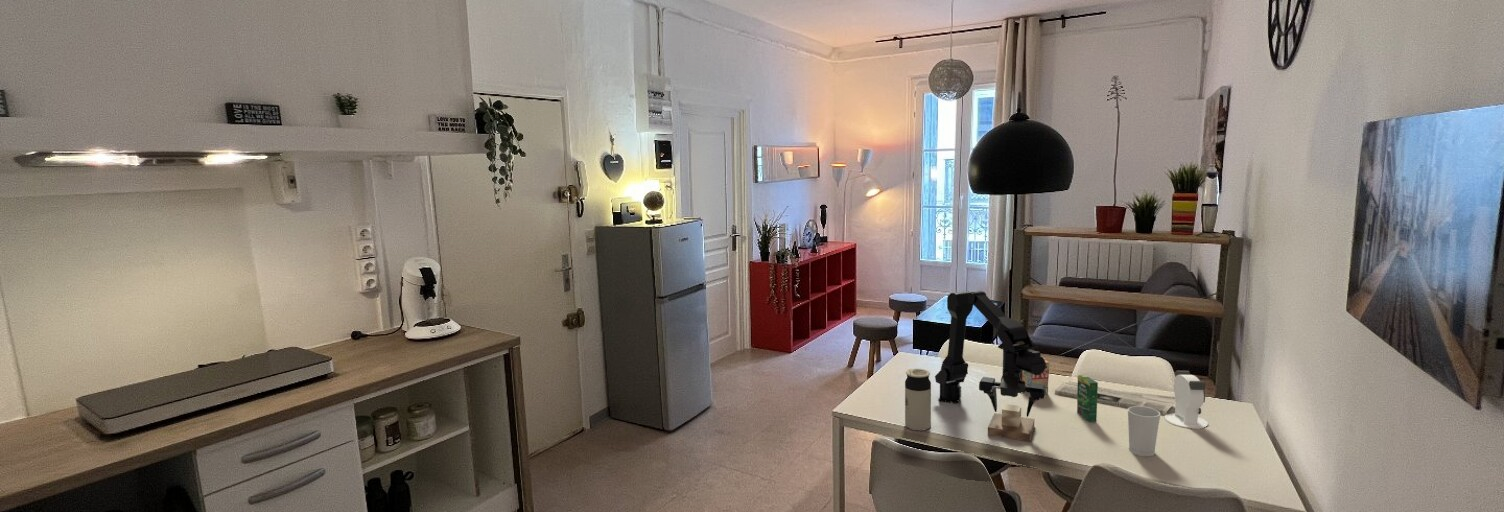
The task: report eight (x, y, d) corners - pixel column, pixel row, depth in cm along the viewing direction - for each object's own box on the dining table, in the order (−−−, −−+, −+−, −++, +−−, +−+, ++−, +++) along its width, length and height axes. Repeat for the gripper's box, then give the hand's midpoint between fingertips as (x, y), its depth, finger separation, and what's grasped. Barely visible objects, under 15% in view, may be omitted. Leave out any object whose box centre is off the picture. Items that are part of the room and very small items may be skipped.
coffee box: (1075, 412, 217) (1077, 374, 215) (1084, 412, 217) (1086, 374, 215) (1087, 422, 209) (1089, 383, 207) (1096, 422, 209) (1098, 382, 207)
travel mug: (931, 422, 214) (931, 369, 211) (929, 432, 206) (930, 377, 204) (906, 420, 216) (906, 367, 214) (903, 429, 209) (903, 375, 206)
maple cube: (1001, 424, 204) (1001, 409, 203) (1004, 418, 208) (1004, 403, 207) (1018, 427, 201) (1019, 411, 201) (1021, 421, 206) (1021, 406, 205)
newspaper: (1054, 395, 233) (1054, 386, 233) (1064, 385, 243) (1064, 376, 242) (1171, 418, 211) (1172, 407, 210) (1177, 405, 220) (1178, 395, 220)
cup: (1119, 446, 192) (1121, 407, 190) (1145, 444, 192) (1147, 405, 191) (1137, 458, 184) (1139, 417, 182) (1164, 456, 185) (1167, 415, 183)
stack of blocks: (1006, 375, 254) (1007, 344, 252) (1023, 375, 254) (1023, 344, 252) (1030, 395, 233) (1031, 362, 231) (1048, 395, 233) (1049, 361, 231)
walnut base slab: (987, 434, 203) (987, 427, 202) (994, 420, 213) (994, 413, 213) (1029, 441, 197) (1029, 433, 197) (1034, 426, 207) (1034, 419, 207)
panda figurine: (1216, 430, 200) (1219, 382, 198) (1175, 429, 202) (1178, 382, 199) (1196, 414, 212) (1199, 369, 209) (1158, 413, 213) (1160, 369, 211)
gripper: (976, 369, 199) (975, 418, 202) (1043, 377, 190) (1041, 428, 193) (982, 358, 209) (981, 405, 211) (1046, 366, 200) (1045, 415, 202)
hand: (1011, 413), depth 204 cm, fingers open, 9 cm apart
